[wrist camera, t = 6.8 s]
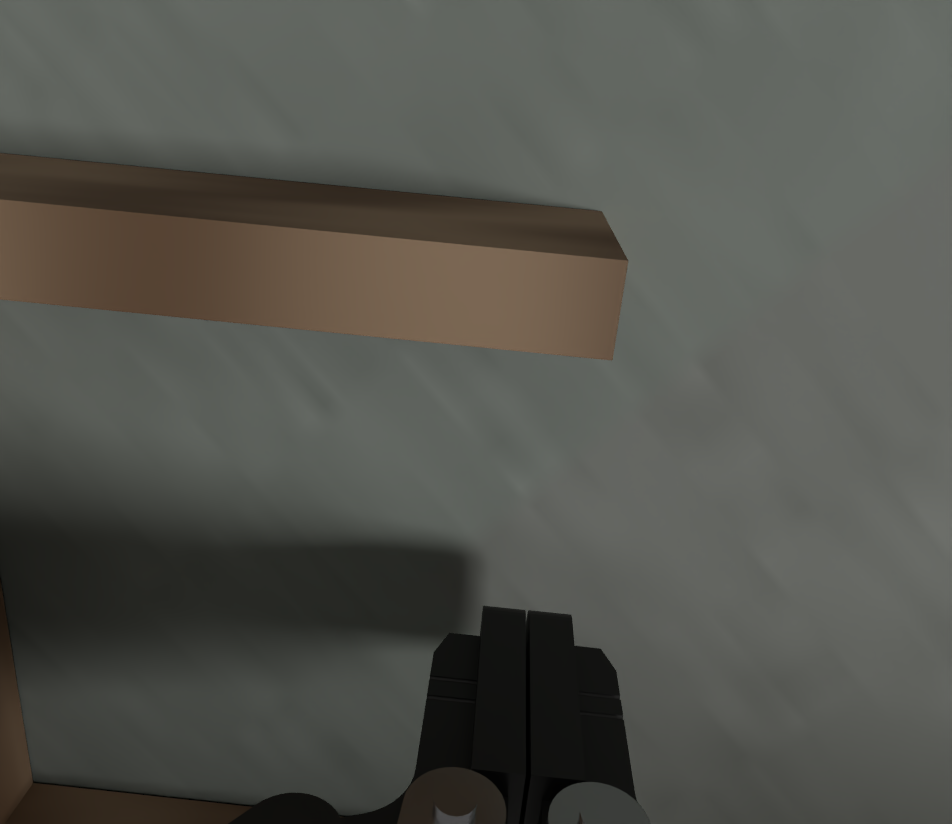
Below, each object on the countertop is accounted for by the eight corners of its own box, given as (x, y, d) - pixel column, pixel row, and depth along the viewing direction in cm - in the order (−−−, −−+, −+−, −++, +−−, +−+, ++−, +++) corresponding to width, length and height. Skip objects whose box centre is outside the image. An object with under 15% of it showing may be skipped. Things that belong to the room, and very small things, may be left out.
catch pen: (601, 211, 13) (646, 294, 8) (506, 874, 18) (500, 1148, 14) (-147, 138, 13) (-524, 178, 8) (-14, 817, 18) (-194, 1067, 14)
